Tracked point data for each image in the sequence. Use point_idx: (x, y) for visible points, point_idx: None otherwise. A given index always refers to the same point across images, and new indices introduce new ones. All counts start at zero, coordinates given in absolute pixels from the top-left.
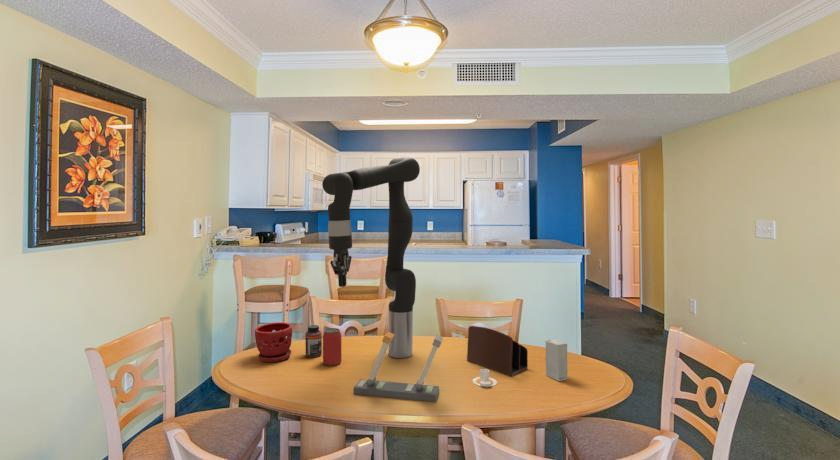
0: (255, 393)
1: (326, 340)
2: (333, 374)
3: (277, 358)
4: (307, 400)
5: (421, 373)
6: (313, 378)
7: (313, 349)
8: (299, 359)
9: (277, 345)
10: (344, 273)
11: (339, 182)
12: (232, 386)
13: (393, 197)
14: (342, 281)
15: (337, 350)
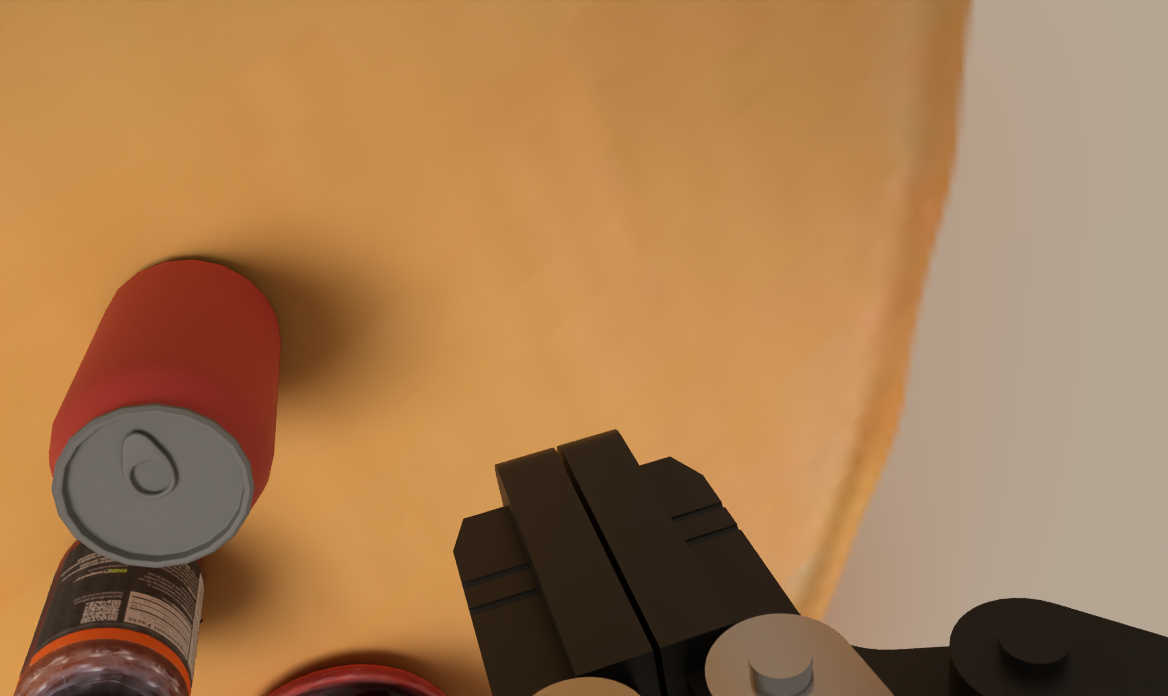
0: (875, 405)
1: (273, 438)
2: (411, 161)
3: (421, 683)
4: (879, 42)
5: None
6: (548, 252)
7: (179, 578)
8: (275, 595)
9: None
10: (818, 655)
11: None
12: (830, 581)
13: None
14: (732, 523)
15: (205, 308)
